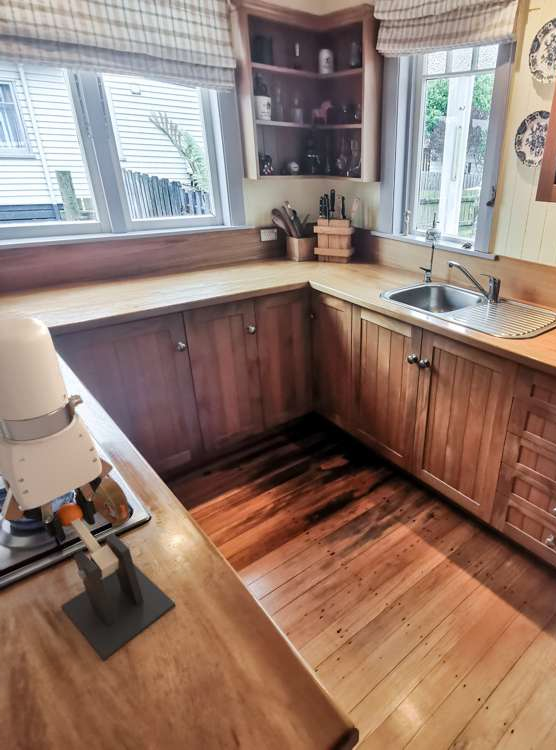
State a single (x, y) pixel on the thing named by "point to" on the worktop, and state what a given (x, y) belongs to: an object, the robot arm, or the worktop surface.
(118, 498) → the mottled brown oval slab
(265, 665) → the worktop surface
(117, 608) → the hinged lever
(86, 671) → the worktop surface
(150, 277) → the worktop surface
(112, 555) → the lever with orange knob
